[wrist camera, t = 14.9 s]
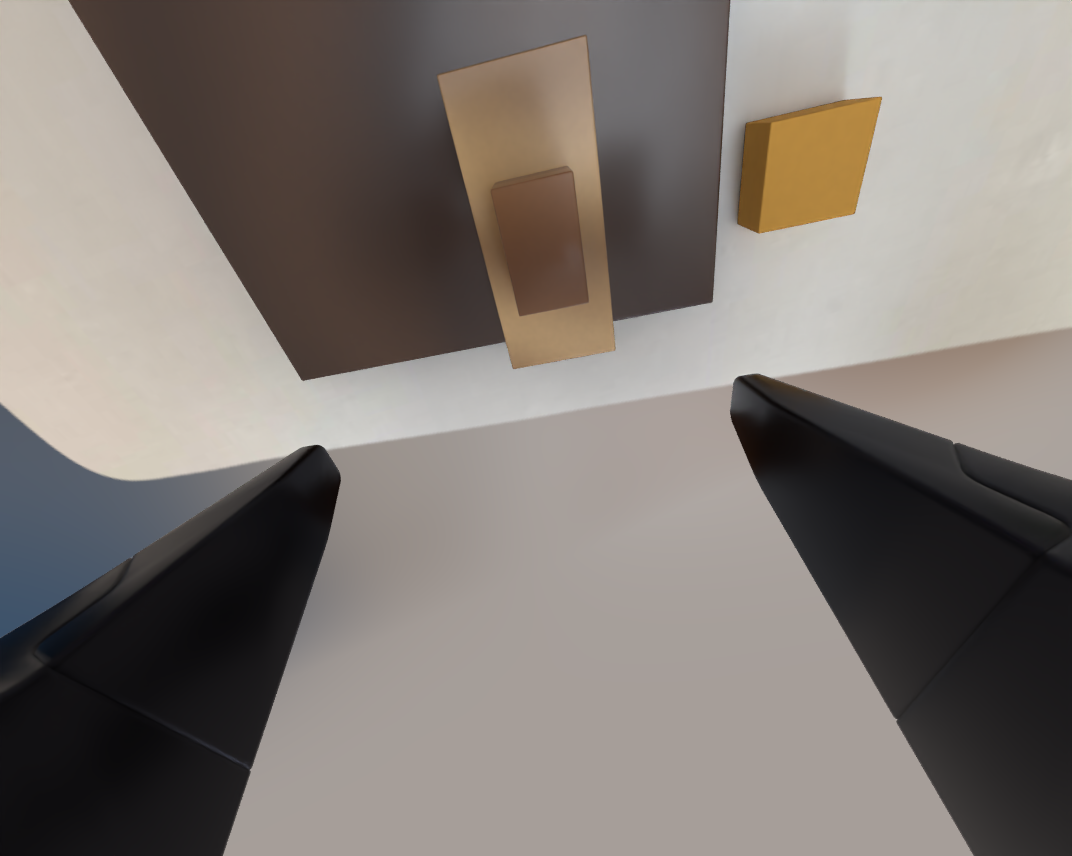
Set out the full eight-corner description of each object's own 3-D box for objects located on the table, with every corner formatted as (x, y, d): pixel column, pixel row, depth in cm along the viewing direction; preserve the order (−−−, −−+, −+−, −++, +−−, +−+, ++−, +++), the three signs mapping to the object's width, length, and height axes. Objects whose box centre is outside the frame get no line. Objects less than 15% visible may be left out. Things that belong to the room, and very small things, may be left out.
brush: (446, 81, 14) (421, 66, 10) (580, 45, 13) (596, 18, 10) (514, 349, 20) (511, 393, 16) (608, 331, 19) (624, 373, 16)
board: (736, -359, 10) (754, -402, 9) (705, 295, 19) (713, 302, 18) (27, -106, 12) (-10, -124, 11) (310, 372, 21) (301, 381, 20)
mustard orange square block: (845, 99, 15) (883, 95, 13) (824, 206, 17) (855, 214, 15) (745, 123, 15) (771, 122, 14) (737, 224, 17) (758, 234, 16)
